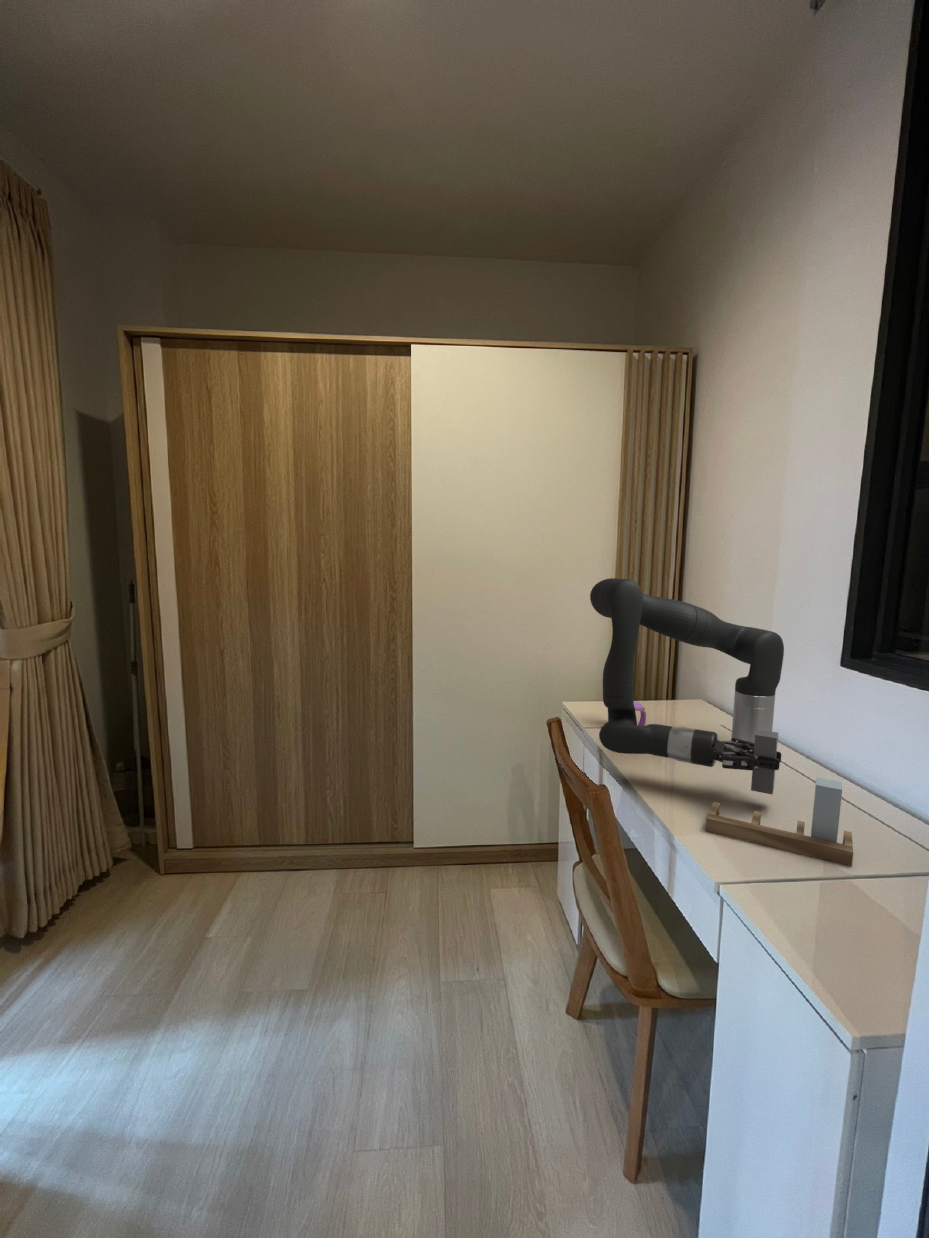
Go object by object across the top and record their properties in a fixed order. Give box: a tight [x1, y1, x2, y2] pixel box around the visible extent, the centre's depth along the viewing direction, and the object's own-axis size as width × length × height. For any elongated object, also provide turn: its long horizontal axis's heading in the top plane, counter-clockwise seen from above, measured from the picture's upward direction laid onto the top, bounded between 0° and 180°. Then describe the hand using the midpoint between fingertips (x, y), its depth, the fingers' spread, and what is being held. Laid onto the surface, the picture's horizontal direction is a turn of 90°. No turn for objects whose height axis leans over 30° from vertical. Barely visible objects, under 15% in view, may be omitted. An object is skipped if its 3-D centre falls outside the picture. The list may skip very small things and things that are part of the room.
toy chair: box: [634, 701, 647, 726], centre depth 175 cm, size 8×9×15 cm
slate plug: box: [810, 777, 843, 843], centre depth 110 cm, size 4×4×12 cm
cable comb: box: [705, 801, 854, 867], centre depth 113 cm, size 8×24×2 cm, turn 59°
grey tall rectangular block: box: [750, 729, 779, 796], centre depth 125 cm, size 4×4×12 cm
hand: (779, 761), depth 124 cm, fingers closed on grey tall rectangular block, 4 cm apart
